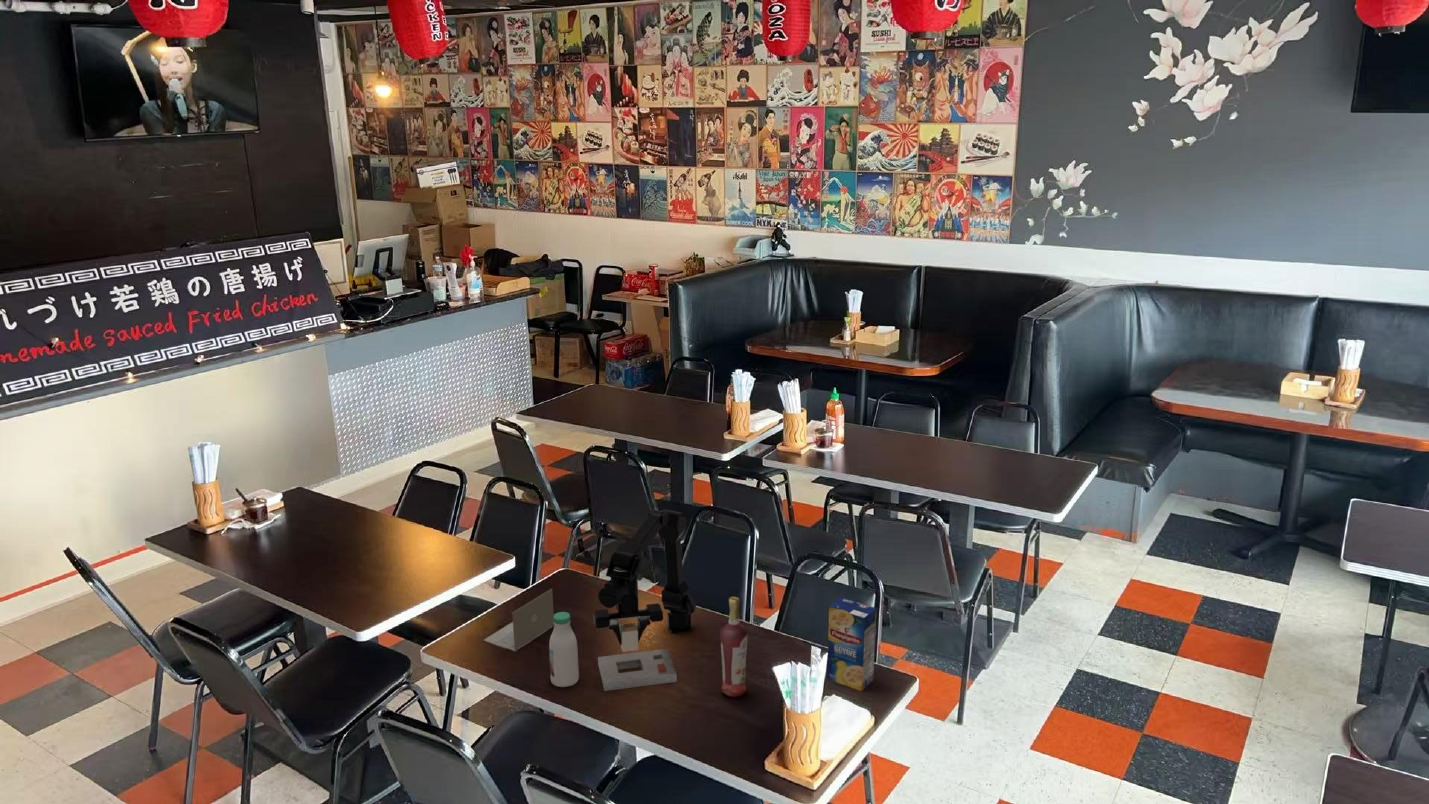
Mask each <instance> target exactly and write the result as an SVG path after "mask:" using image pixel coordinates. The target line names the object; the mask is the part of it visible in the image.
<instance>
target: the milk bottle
mask: <svg viewBox="0 0 1429 804" xmlns="http://www.w3.org/2000/svg"><path fill="white" fill-rule="evenodd" d="M553 621H554V622H553V623H554V626H553V630H552V633H551V635H550V638H549V640H548V641H549V643H548V644H549V645H548V651H549V671H550V672H549V673H550V681H551V684H552V685H554V686H555V687H558V688H559V687H560V688H567V687H572V686H574V685H575V684H577V682H579V678H580V674H579V654H578V641H577V638H576V635H575V633H574V631H573V629H572V627H571V614H570V613H569V612H566V611H560V612H556V613H554V616H553Z"/></svg>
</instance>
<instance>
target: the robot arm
mask: <svg viewBox="0 0 1429 804" xmlns="http://www.w3.org/2000/svg"><path fill="white" fill-rule="evenodd" d="M686 525H687V518H686V514H685V513H683V512H678V511H675V510H670V509H662V510H658V509H651V510H649V512H648V514H647V517H646V518H645V520H644V521H643V522H642V523H641V525H640V526H639V528H638V529H637V530H636V531H635V533H634V534H633V536H632V537H631V538H630V539H629V540H627V541H625V542H621V544H620V545H619V546H617V547H616V548H615V549H614V551H613V553H612V554H611V556H610V557H611V558H610V561H609V563H608V567H607V571H606V573H605V576H606V577H608V578H610V579H609V580H608V581H606V582H604V584H603V585H604V586H603V587H602V588H601V589H600V590H599V592H598V594H597V597H598V601H599V603H600V604H601V605H602V606H603V607H605V609H596V610H594V612H593V613H592V616H593V622H594V626H595V627H594V628H596V629H604V628H607V629H608V630H612V631H613V632H614V634H615V636H616V639H617V641H618V643H619V646H621V643H622V640H621V634H620V624H619V620H620V621H621V620H630V619H637V623H636V627H637V630H638V644H639V643H640V640H641V638H642V635H643V634H644V631H645V630H646V629H647V627H648V626H650V625H651V624H652V623H656V622H662V621H664V612H663V609H664V610H667V611H668V612H667V613H666V615H667V616H666V619H667V623H666V624H667V627H668V629H669V630H670V633H672V634H676V633H678V634H679V633H685V632H687V633H688V632H693V627H692V614H693V613H695V610H696V607H697V601H696V600H695V599H694V598H693V597H692V596H691V591H690V590H691V589H690V587H689V586H688V584H687V583H686V581H685V580H684V568H683V555H682V554H683V553H682V536H683V535H684V533H685V531H686ZM658 534H659V536H660V537H661V538H662V540H663V542H664V543H663V544H664V545H663V546H664V557H665V558H664V559H665V571H666V572H665V573H666V584H665V586H664V588H663V589H661V591H660V594H661V603H662V606H661V604H659V603H649V604H646V605H645V608H639V583H638V582H639V581H638V578H639V577H638V576H639V575H638V574H639V573H640V572H642V569H641V566H642V563H643V562H644V553H645V550H647V548H648V547H649V546H650V544H651V542H652V541H653V540H654V538H655V537H656V536H657V535H658ZM615 569H618V570H615ZM620 570H622V571H620ZM614 607H615V609H616V611H617V612H613V613H609V611H608V609H611V608H614ZM662 607H663V608H662ZM651 622H652V623H651Z"/></svg>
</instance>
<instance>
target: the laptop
mask: <svg viewBox="0 0 1429 804" xmlns="http://www.w3.org/2000/svg"><path fill="white" fill-rule="evenodd" d="M553 594H554V593H553V588H550V589H548V590H547V591H545V592H544V593H542V594H540V595H538V596H537V597H535V598H534V599H532V600H531V601H529V602H528V603H527V602H526V603H525V604H523V605H522V606H521V607H519V608H517V609H515V610H514V611H513V612H511V615H512V622H510V623H508V624H507V625H505V626H504V627H502V628H500V629H499V630H497V631H496V632H494V633H492V634H491V635H489V636H487V637H486V638H484V639H483V641H484V642H486V643H489V644H491V645H495V646H497V647H499V648H503V649H505V650H509V651H512V652H517V651H519V649H521V648H523V647H524V646H526V645H528V644H529V643H530V642H532V641H533V640H535V639H536V638H538V637H540V636H541V635H543V634H544V633H546V632H547V631H548V630H550V629H552V628H554V623H553V622H554V621H553V616H554V614H555V613H554V601H553V600H554V598H553Z"/></svg>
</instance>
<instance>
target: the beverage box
mask: <svg viewBox="0 0 1429 804" xmlns="http://www.w3.org/2000/svg"><path fill="white" fill-rule="evenodd" d="M876 630H877V607H874V606H871V605H867V604H864V603H861V602H857V601H855V600H850V599H848V598H844V597H840V598H839V599H838V600H837V601H835V602H834V603H832V604H831V605H830V606H828V631H827V632H828V638H827V665H826V666H827V667H826V668H827V669H826V672H827V673H826V679H827V680H829V681H831V682H835V683H837V684H840V685H844V686H847V687H848V688H852V689H854V690H857V691H861V692H863V690H865V689H866V688H867V687H868V686H869V685H870V684H871V683H872V682H873V681H874V678H875V677H874V676H875V674H874V673H875V655H876V653H875V651H876Z"/></svg>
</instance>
